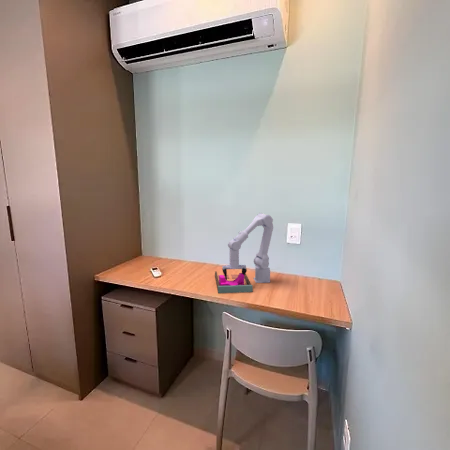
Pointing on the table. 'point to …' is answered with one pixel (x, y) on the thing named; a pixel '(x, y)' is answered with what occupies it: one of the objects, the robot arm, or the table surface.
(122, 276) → the table surface
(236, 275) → the trap squares
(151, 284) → the table surface
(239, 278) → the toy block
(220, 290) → the end stop
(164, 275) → the table surface
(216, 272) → the lane rails
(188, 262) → the table surface
